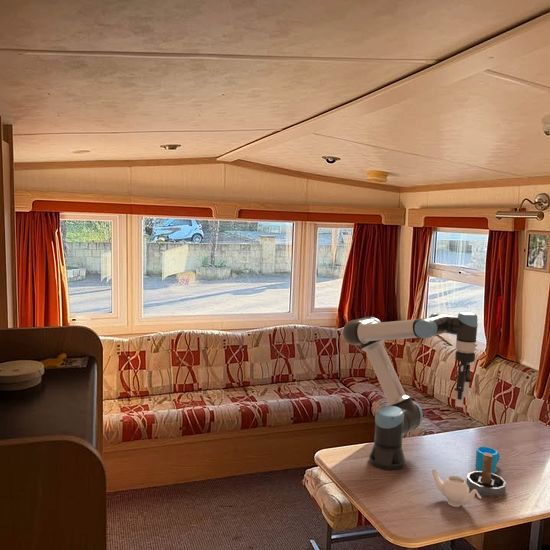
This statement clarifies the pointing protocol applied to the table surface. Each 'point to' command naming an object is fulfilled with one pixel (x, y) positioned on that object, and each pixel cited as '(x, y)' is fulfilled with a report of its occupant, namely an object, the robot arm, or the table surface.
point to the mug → (480, 457)
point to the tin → (486, 484)
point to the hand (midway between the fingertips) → (462, 401)
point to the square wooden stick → (487, 468)
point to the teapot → (455, 490)
